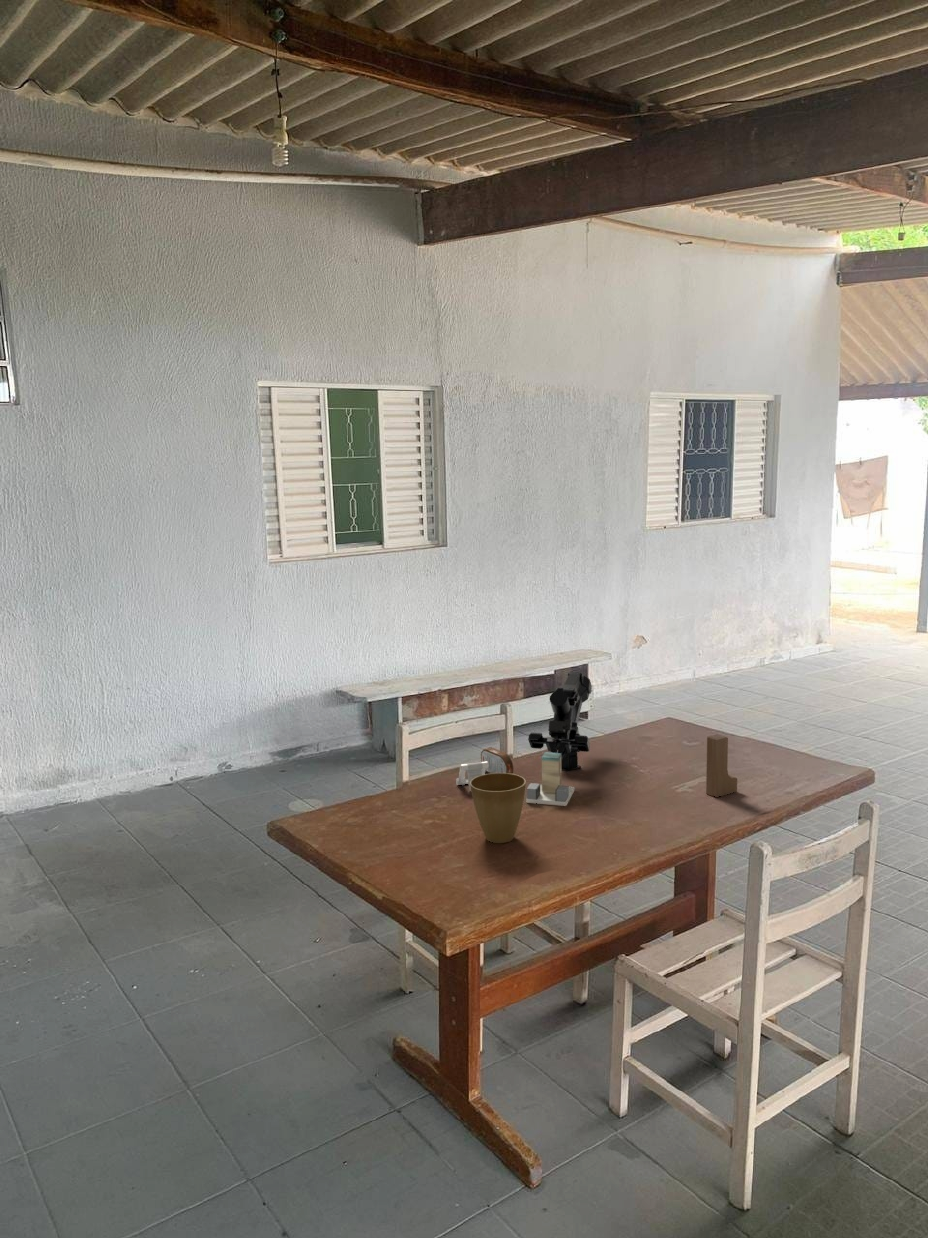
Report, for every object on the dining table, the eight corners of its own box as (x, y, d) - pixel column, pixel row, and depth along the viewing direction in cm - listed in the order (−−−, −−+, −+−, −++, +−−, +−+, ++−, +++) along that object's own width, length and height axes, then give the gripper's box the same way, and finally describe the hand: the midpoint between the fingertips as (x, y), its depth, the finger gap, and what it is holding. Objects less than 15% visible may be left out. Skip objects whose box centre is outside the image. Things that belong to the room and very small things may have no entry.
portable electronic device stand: (481, 781, 295) (481, 756, 294) (490, 789, 288) (489, 763, 286) (456, 785, 292) (455, 759, 291) (464, 793, 285) (463, 766, 284)
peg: (545, 786, 284) (545, 752, 282) (561, 787, 282) (561, 753, 281) (541, 792, 279) (541, 757, 277) (558, 793, 278) (558, 758, 276)
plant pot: (497, 823, 259) (496, 768, 256) (538, 837, 248) (537, 780, 246) (459, 839, 249) (458, 782, 246) (500, 854, 238) (498, 794, 236)
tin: (514, 780, 295) (514, 754, 294) (506, 782, 294) (506, 756, 292) (487, 768, 308) (486, 744, 306) (479, 770, 306) (478, 746, 305)
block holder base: (536, 787, 288) (535, 774, 287) (574, 790, 284) (574, 777, 283) (526, 802, 275) (526, 788, 274) (566, 806, 271) (566, 791, 271)
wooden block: (726, 788, 283) (727, 731, 280) (737, 792, 279) (738, 734, 277) (705, 794, 278) (706, 736, 276) (717, 798, 275) (718, 739, 272)
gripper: (529, 707, 291) (521, 751, 282) (588, 710, 285) (582, 755, 277) (534, 725, 299) (527, 768, 291) (592, 728, 294) (586, 773, 285)
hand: (555, 766), depth 285 cm, fingers closed
